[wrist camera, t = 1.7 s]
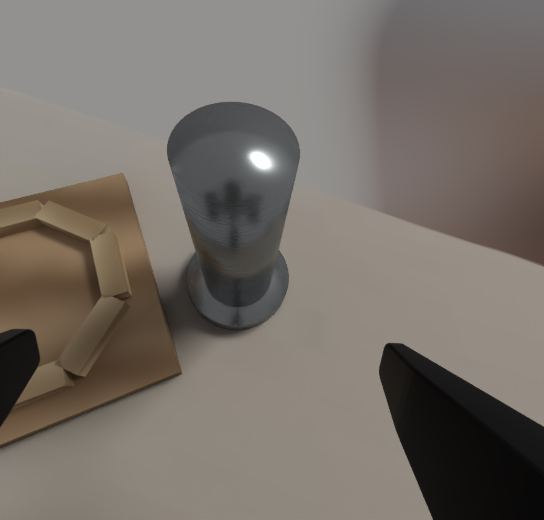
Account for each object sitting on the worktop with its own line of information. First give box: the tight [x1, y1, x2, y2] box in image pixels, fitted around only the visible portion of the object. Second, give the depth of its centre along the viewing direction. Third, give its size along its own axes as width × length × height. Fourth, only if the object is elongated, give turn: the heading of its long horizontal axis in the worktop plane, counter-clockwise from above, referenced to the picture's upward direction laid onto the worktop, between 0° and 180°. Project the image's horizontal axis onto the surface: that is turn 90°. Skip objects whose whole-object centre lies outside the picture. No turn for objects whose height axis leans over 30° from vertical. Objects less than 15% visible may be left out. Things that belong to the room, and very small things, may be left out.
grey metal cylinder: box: [167, 102, 300, 330], centre depth 17 cm, size 7×7×13 cm
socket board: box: [0, 173, 182, 448], centre depth 19 cm, size 16×16×4 cm
